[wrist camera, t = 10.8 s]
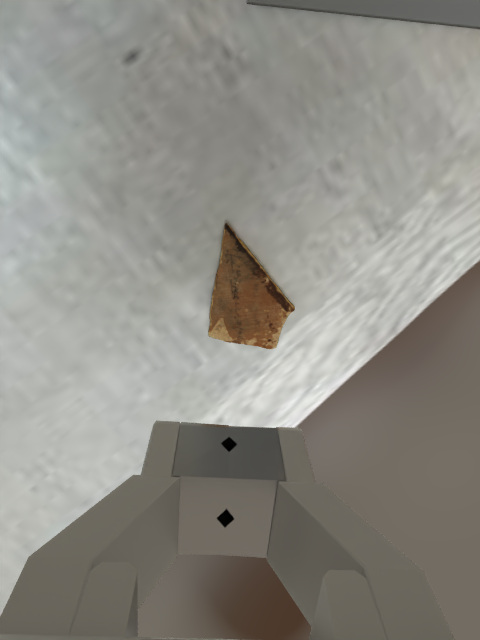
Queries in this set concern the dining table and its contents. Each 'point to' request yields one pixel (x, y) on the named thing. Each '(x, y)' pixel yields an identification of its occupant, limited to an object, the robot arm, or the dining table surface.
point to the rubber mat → (393, 9)
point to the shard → (245, 298)
